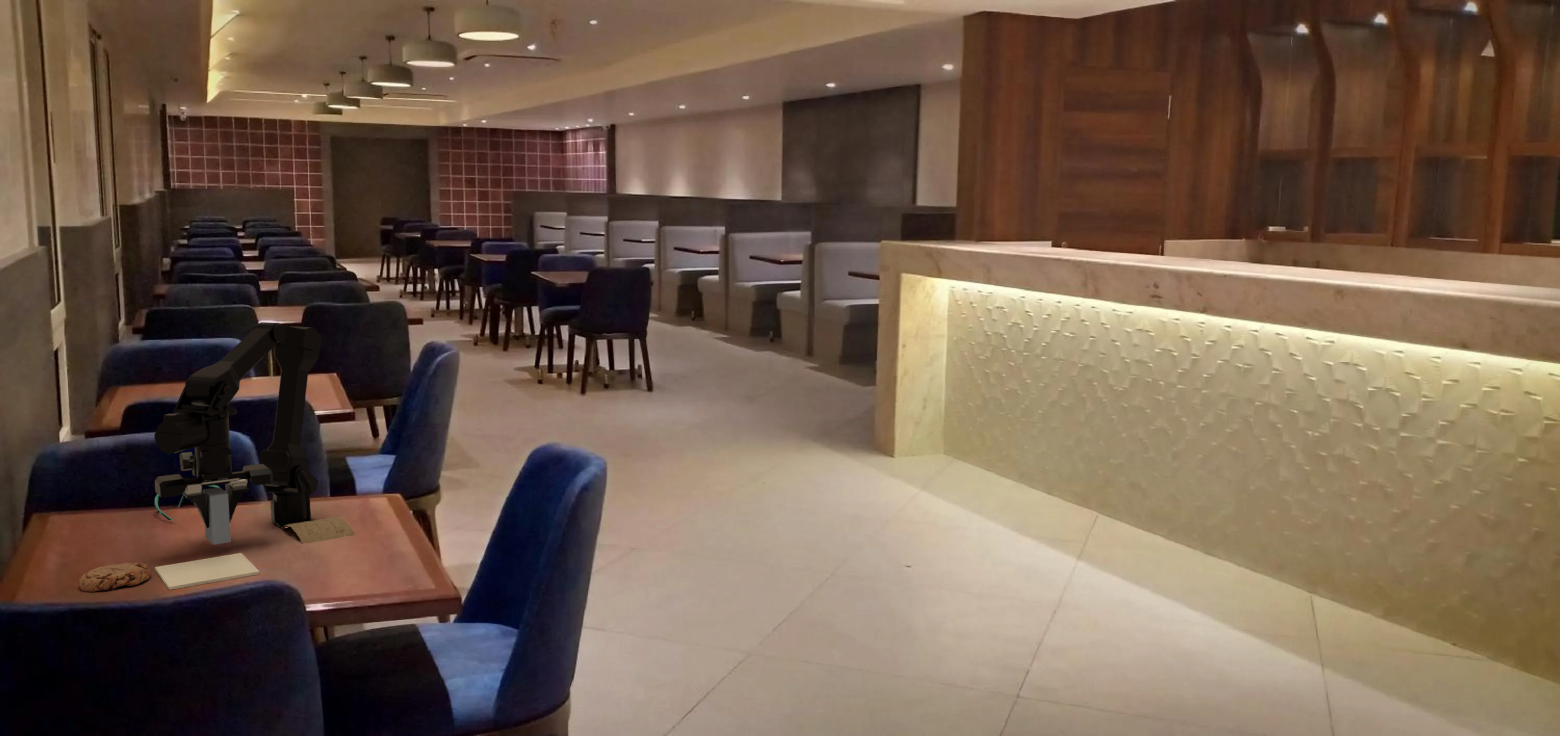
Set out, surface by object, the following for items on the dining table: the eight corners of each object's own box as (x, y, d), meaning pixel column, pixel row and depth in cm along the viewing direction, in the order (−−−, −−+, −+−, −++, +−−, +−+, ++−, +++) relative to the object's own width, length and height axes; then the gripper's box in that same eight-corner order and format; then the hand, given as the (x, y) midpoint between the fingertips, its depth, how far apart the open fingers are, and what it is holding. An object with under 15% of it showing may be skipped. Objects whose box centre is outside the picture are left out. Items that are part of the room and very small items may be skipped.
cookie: (65, 589, 190) (63, 572, 190) (122, 571, 200) (121, 554, 200) (108, 597, 187) (107, 580, 186) (164, 578, 197) (163, 561, 196)
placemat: (241, 555, 209) (241, 552, 208) (259, 573, 198) (259, 571, 198) (155, 569, 200) (154, 566, 200) (169, 589, 190) (169, 586, 190)
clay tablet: (357, 538, 222) (356, 525, 221) (303, 548, 215) (303, 534, 215) (330, 522, 233) (329, 509, 232) (278, 531, 226) (277, 518, 226)
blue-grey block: (223, 534, 214) (221, 487, 213) (231, 541, 209) (228, 493, 208) (205, 536, 212) (202, 489, 211) (212, 544, 208) (209, 496, 206)
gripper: (256, 429, 220) (260, 508, 223) (146, 441, 209) (152, 524, 211) (271, 439, 212) (275, 521, 214) (158, 451, 200) (164, 538, 202)
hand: (217, 525), depth 211 cm, fingers closed on blue-grey block, 3 cm apart
